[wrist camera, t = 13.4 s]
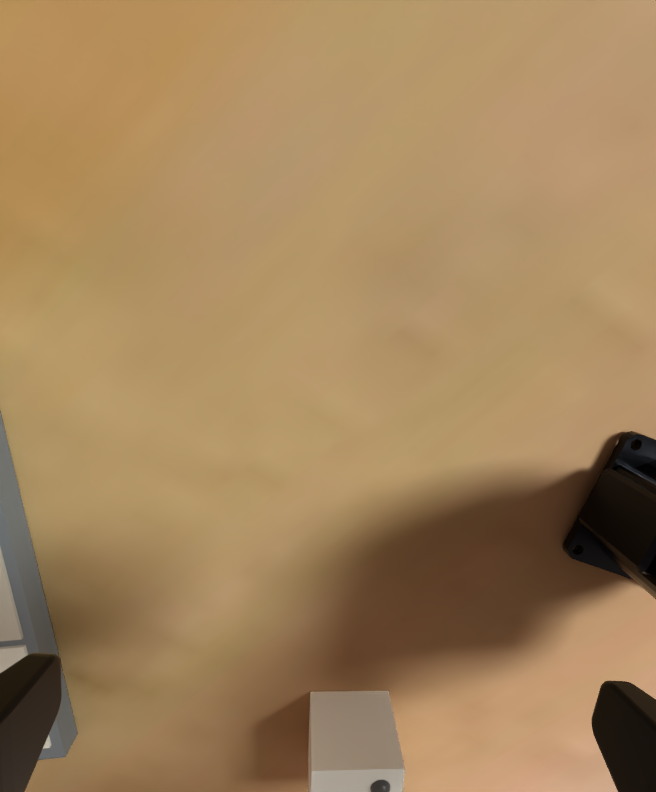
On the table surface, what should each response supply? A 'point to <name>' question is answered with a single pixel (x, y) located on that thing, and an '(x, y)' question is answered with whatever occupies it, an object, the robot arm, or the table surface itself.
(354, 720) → the die
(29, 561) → the board
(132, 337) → the table surface
